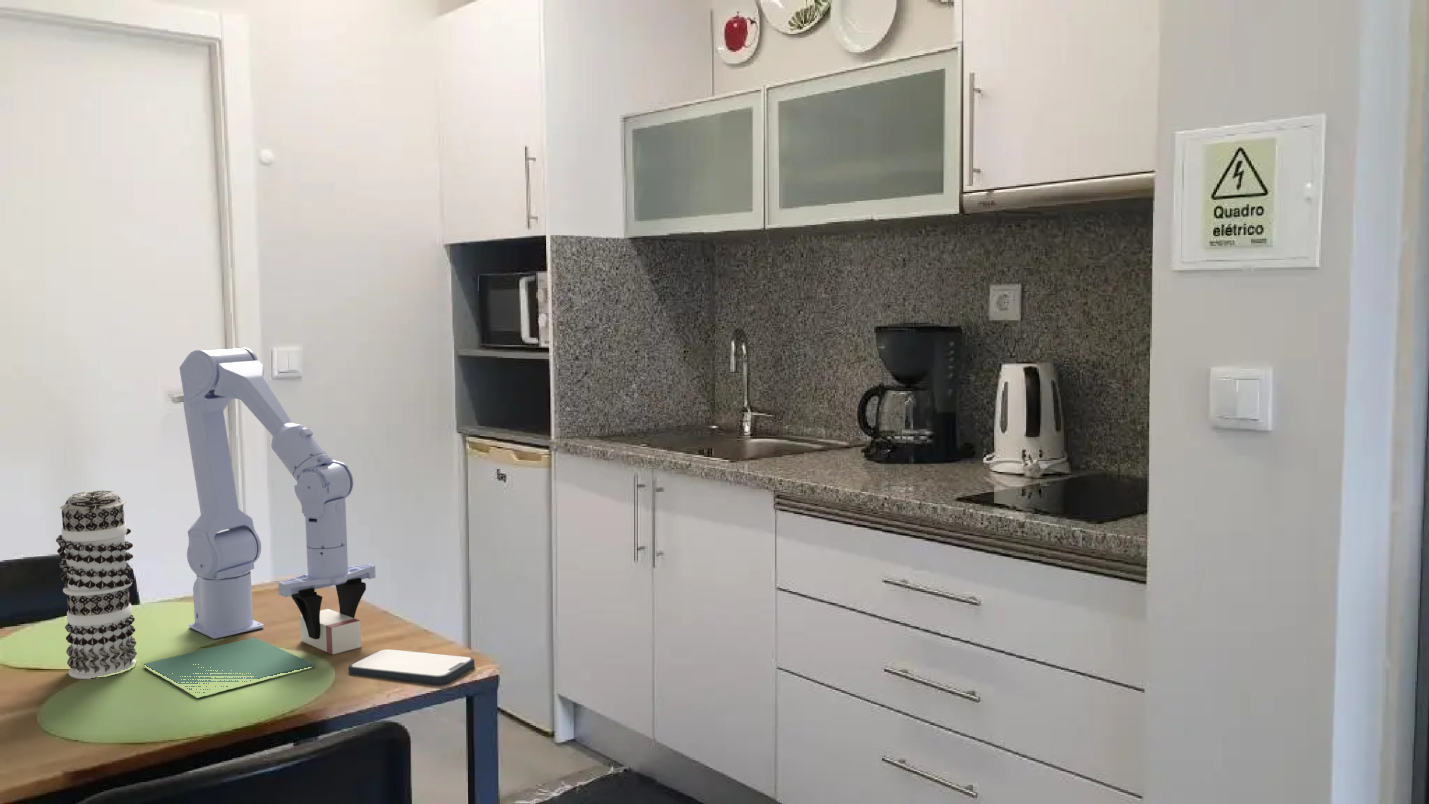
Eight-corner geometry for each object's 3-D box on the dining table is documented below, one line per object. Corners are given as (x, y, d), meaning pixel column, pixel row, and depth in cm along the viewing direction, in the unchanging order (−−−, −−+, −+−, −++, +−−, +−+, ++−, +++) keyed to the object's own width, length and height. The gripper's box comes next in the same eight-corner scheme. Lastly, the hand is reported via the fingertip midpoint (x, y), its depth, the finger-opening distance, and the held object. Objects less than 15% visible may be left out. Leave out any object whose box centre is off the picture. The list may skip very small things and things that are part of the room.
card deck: (300, 641, 168) (299, 615, 168) (329, 634, 172) (328, 608, 171) (332, 654, 162) (331, 627, 162) (361, 647, 165) (360, 620, 165)
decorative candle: (65, 664, 158) (53, 491, 156) (138, 654, 163) (128, 485, 160) (64, 684, 150) (52, 502, 148) (141, 672, 155) (130, 495, 152)
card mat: (143, 667, 157) (143, 663, 157) (254, 641, 169) (254, 637, 168) (198, 699, 145) (197, 694, 145) (313, 667, 156) (313, 663, 156)
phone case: (344, 678, 154) (443, 689, 149) (343, 667, 154) (443, 677, 149) (383, 658, 162) (478, 668, 157) (382, 647, 162) (478, 656, 157)
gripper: (293, 557, 157) (297, 650, 159) (384, 540, 168) (388, 627, 169) (270, 550, 162) (274, 640, 164) (360, 533, 173) (363, 618, 174)
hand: (330, 633), depth 167 cm, fingers closed on card deck, 5 cm apart
